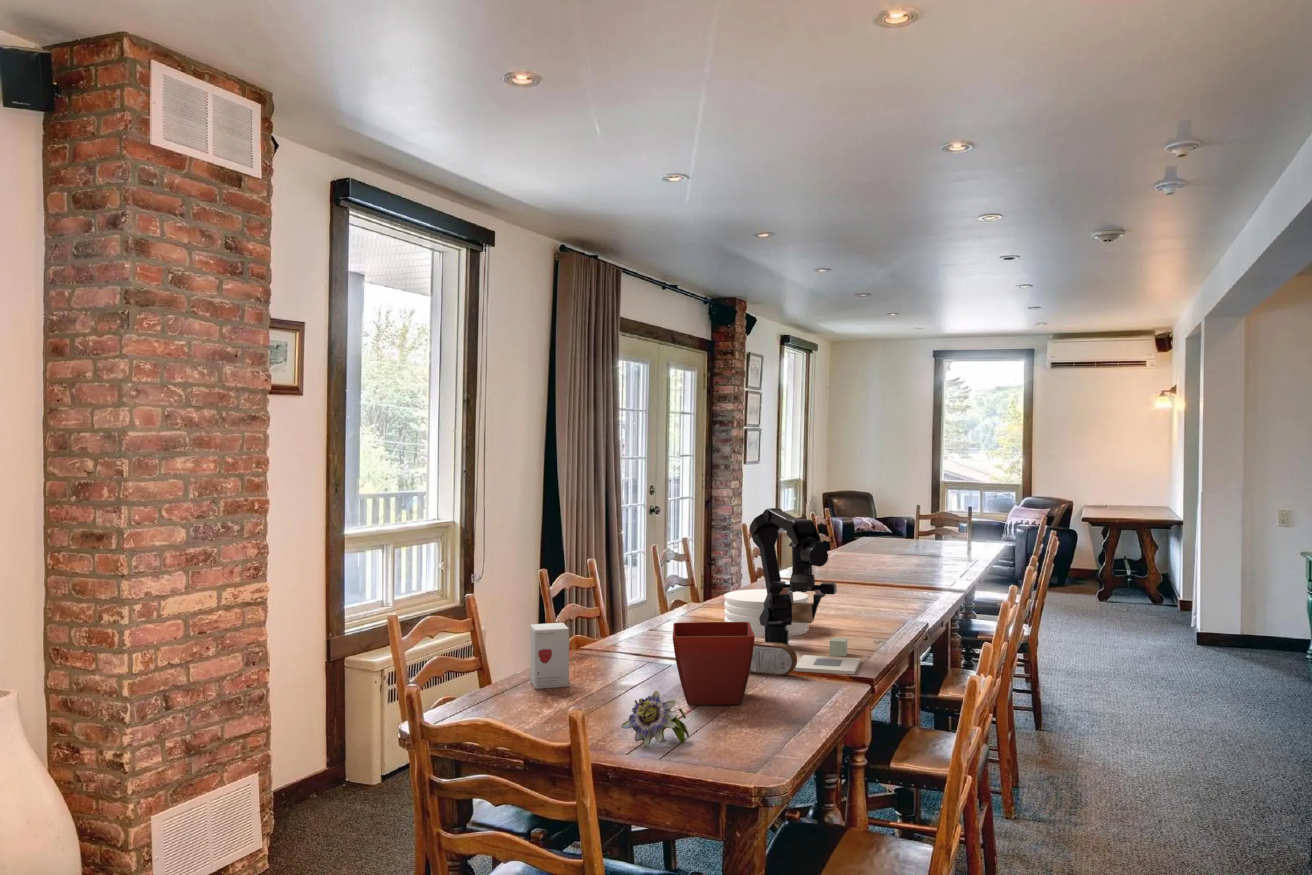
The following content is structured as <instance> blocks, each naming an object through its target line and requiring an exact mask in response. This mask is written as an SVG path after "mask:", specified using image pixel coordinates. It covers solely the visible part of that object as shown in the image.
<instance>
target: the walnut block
mask: <svg viewBox="0 0 1312 875" xmlns="http://www.w3.org/2000/svg"><path fill="white" fill-rule="evenodd" d="M812 611H813V602H808V603H801V602H795V603H794V604H792V623H808V624H812V623H813V622H814V621H815V617H814V618H813V617H812Z"/></svg>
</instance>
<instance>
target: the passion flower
mask: <svg viewBox="0 0 1312 875" xmlns="http://www.w3.org/2000/svg"><path fill="white" fill-rule="evenodd" d="M676 702H677V701H676V700H675V699H672V700H671V699H670V700H666V701H662V700H661V694H660V692H659V691H658V690H655V691H654V692H653V693H652V695H649V696H648V697H645V698H639V699H638V701H637V700H636V699H634V704H635V705H633V707H632V708H631V712H632V714H629V716H628V720H627V721H625V722H623V723H622V724H621V728H622V729H631V728H632V730H633V731H635V735H634V741H635V742H638V741H639V742H640V741H642V745H643V748H647V747H649V745H650V744H651V741H652V738H653V737H654V739H655V741H657V742H658V743H661V742H663V740H664V735H665V730H666V729H672V731H673V732H674V735H675V736H676V737H677V740H678V741H679V743H680V744H682V745H683V744H685V742H686V737H687V738H689V737H690V734H689V731H688V729H687V726H686V724H685V723H684V721H682V720H680V719H678V718H677V716H679V715H678V712H677V711H679V712H680V713H681V714H682V718H683V720H684V719H686V718H687V716H686V715H685V712H684V711H683V708H681V707H679V708H677V709H675V710H673V711H672V710H671V709H672V708H673V707H674V706H675V705H676V704H677V703H676ZM685 734H686V736H685Z"/></svg>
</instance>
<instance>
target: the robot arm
mask: <svg viewBox="0 0 1312 875" xmlns="http://www.w3.org/2000/svg"><path fill="white" fill-rule="evenodd" d="M781 529H783V530H784V531H786V536H787V537H788V538H789V539H790V540H791V542H790V543H789V545H788V546H789V547H790V548H791V564H792V567H791V568H792V570H791V574H790V579H789V583H786V580H785V581H784V580H782V578H781V572H780V567H779V562H778V556H777V551H776V544H777V542H778V538H779V531H780V530H781ZM749 533H750V535H751V538H752V542H753V543H754V544H755V545H756V546H757V547H758V549H759V554H760V560H761V567H762V571H763V576H764V582H765V589H767V596H766V599H765V601H764V610H763V612H762V614H761V616H760V617H759V620H760V625H763V626H765V637H764V642H772V643H783V644H786V645H788V644H789V641H790V640H789V638H790V636H789V630H788V629H787V625H791V624H792V604H794V602H793V592H802V593H806V592H814V594H813V601H812V603H813V611H812V617H813V618H814V619H815V617H816V613H817V612H818V608H819V604H820V602H821V600H822V598H824V597H826V596H827V595H835V594H836V593H837V592H838V590H837V583H835V582H829V581H828V582H826V581H825V582H824V581H823V582H821V583H820V584H816V578H815V574H813V566H814V567H823V566H825V565H826V563H828V559H829V552H828V551H827V549H826V548H825V547H824V546H823V545H822V540H821V538H822V537H821V536H820V534H819V532H818V529H817V527H816V525H815V523H814V521H813V520H812V519H807V518H797V517H795V516H793V515H791V514H790V513H788V512H786V511H784V510H783V509H782V508H779V507H776V508H775V507H773V508H772V507H771V508H767V509H764V511H763V512H762V513H760V514H759V515H757V516H756V517H754V518H753V520H752V521H751V523H750V524H749ZM790 591H791V592H790Z"/></svg>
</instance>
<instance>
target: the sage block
mask: <svg viewBox="0 0 1312 875" xmlns="http://www.w3.org/2000/svg"><path fill="white" fill-rule="evenodd" d="M847 655H848V638H847V637H845V638H844V637H831V638H830V639H829V657H841V656H844V657H846V658H847Z"/></svg>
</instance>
